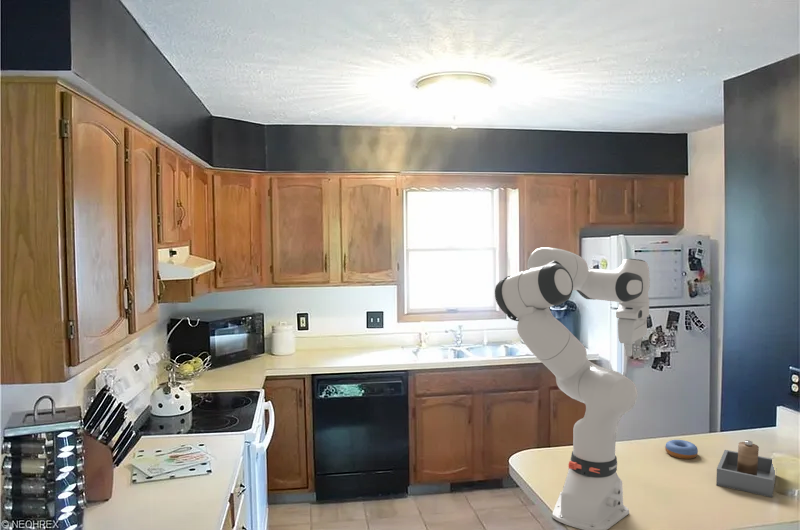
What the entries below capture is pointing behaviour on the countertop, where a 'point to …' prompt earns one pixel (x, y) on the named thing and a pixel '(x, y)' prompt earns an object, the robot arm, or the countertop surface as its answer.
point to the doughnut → (681, 449)
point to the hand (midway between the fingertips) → (633, 353)
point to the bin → (746, 475)
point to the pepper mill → (747, 457)
